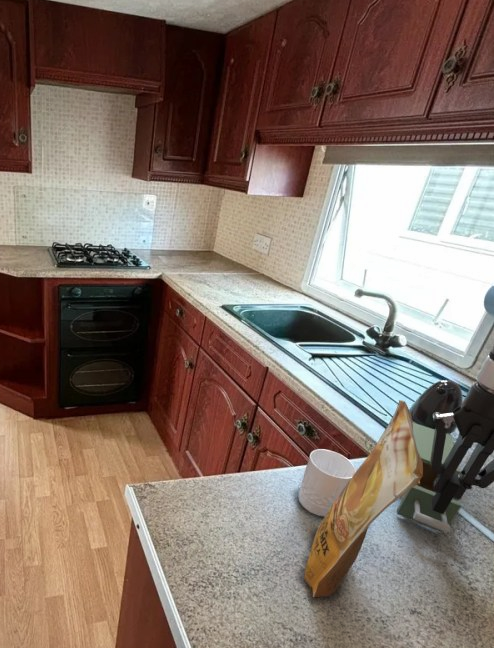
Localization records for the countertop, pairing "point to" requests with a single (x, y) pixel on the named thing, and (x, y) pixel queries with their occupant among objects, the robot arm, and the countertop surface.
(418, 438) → the cabinet
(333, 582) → the pancake mix bag
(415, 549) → the countertop surface
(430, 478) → the drawer
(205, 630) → the countertop surface
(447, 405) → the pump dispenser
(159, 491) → the countertop surface
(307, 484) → the white cup
